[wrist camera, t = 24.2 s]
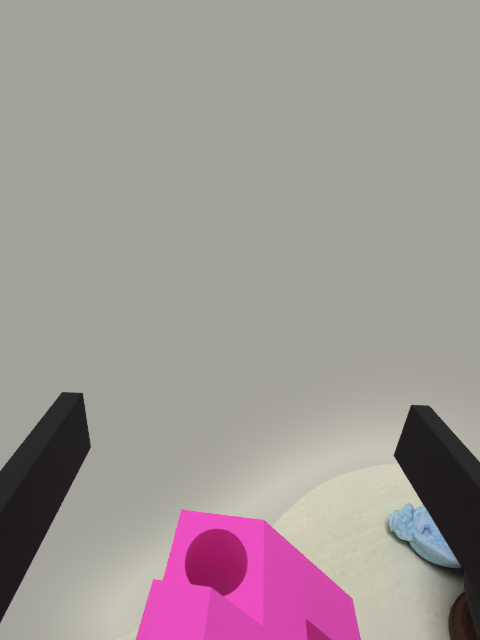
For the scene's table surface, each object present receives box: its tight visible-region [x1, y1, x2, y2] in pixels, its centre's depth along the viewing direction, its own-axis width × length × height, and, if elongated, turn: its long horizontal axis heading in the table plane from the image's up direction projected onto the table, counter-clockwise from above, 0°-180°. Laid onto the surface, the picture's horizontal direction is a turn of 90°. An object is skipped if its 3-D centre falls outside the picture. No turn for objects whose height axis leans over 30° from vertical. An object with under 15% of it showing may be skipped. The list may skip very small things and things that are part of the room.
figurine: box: [389, 503, 461, 568], centre depth 38 cm, size 8×12×7 cm, turn 86°
